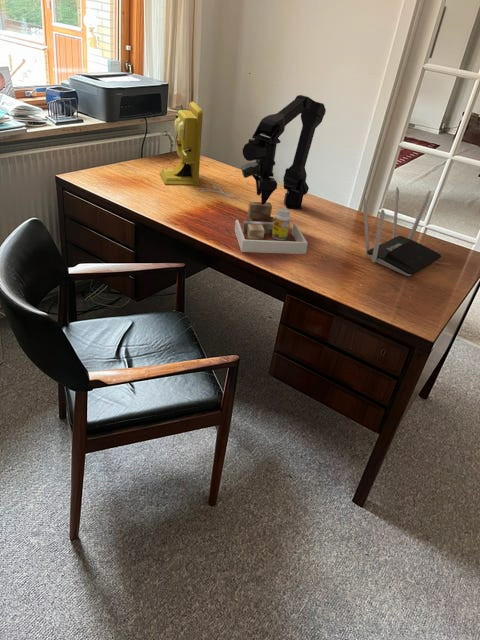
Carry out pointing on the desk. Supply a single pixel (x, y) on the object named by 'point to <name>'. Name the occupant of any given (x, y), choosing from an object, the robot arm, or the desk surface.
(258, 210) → the wooden block frame
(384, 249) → the wireless router
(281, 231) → the supplement bottle
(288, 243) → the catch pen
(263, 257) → the desk surface
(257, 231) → the pale wooden block
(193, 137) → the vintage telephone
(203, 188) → the scissors
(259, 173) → the robot arm
